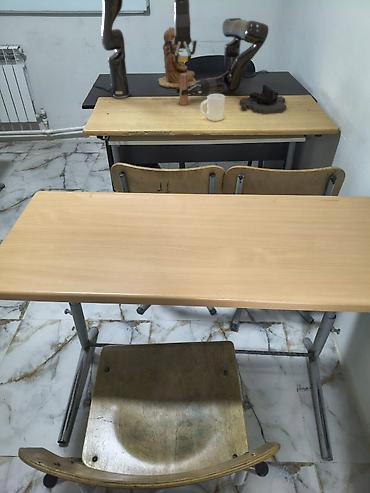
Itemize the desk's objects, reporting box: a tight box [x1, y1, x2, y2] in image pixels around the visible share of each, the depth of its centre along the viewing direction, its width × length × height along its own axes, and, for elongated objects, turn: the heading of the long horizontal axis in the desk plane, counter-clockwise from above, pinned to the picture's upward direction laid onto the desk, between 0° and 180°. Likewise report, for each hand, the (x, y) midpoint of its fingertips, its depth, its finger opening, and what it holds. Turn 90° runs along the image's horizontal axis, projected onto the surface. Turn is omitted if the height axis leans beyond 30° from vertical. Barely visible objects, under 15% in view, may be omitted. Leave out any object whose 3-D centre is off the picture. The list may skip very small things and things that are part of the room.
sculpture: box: [157, 27, 198, 89], centre depth 214 cm, size 27×24×30 cm
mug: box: [199, 93, 226, 122], centre depth 172 cm, size 12×8×10 cm
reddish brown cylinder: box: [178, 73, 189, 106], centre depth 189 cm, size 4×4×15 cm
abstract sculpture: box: [239, 84, 287, 115], centre depth 184 cm, size 25×9×20 cm
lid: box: [178, 55, 188, 63], centre depth 180 cm, size 6×6×2 cm
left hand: (183, 63), depth 181 cm, fingers closed on lid, 5 cm apart
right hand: (179, 91), depth 188 cm, fingers closed on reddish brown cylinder, 4 cm apart
